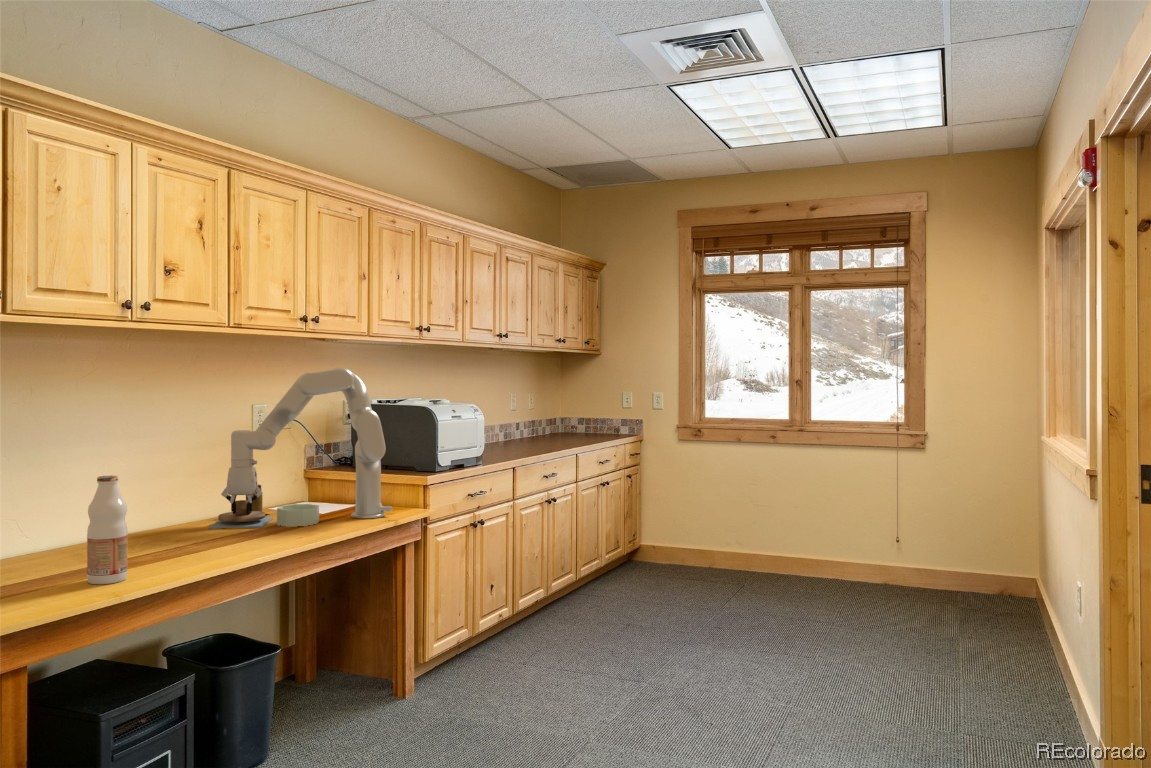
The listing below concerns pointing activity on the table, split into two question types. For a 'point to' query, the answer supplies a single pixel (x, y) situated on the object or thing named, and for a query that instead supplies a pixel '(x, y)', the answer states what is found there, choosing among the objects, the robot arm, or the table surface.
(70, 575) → the table surface
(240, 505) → the lid
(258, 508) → the condiment
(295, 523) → the bowl
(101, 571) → the fruit juice
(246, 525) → the mat
